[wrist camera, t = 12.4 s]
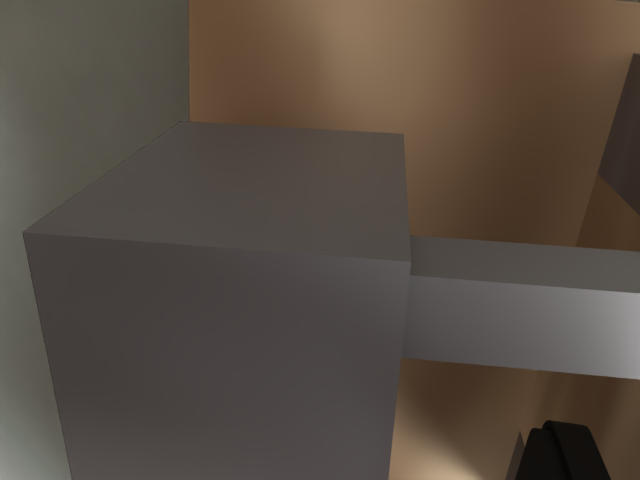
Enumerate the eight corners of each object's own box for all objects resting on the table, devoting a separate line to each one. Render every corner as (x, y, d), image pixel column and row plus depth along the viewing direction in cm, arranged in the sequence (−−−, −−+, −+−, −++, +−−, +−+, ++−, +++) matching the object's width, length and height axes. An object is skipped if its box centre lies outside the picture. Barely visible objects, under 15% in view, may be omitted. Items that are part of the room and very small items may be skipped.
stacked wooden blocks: (206, 435, 19) (53, 816, 10) (208, -39, 13) (-141, -60, 5) (616, 498, 18) (814, 968, 10) (816, 19, 12) (1802, 130, 4)
